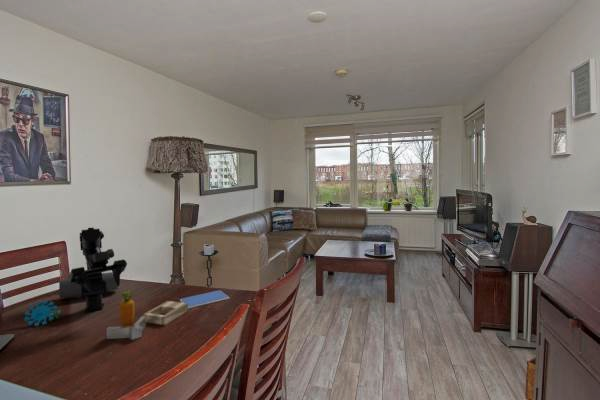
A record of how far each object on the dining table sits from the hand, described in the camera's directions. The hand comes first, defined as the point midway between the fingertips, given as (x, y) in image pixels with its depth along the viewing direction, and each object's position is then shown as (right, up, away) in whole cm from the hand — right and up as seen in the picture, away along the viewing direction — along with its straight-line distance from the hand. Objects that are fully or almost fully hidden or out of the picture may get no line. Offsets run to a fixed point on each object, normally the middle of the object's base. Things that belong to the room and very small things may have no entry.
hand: (105, 288), depth 121 cm
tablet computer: (+30, -13, +25) cm, 41 cm away
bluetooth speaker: (-26, -12, +31) cm, 42 cm away
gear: (-25, -14, +3) cm, 29 cm away
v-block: (+14, -14, -8) cm, 21 cm away
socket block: (+20, -13, +8) cm, 25 cm away
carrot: (+11, -14, -5) cm, 19 cm away
